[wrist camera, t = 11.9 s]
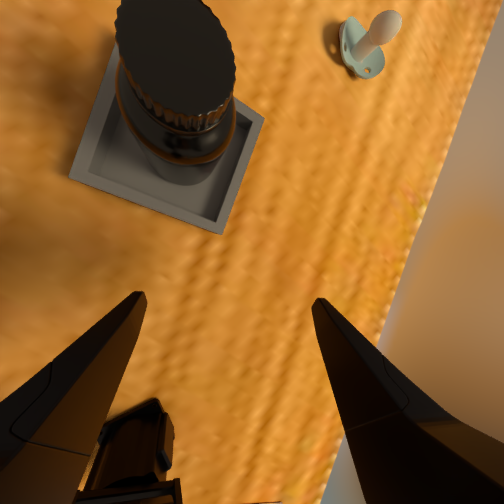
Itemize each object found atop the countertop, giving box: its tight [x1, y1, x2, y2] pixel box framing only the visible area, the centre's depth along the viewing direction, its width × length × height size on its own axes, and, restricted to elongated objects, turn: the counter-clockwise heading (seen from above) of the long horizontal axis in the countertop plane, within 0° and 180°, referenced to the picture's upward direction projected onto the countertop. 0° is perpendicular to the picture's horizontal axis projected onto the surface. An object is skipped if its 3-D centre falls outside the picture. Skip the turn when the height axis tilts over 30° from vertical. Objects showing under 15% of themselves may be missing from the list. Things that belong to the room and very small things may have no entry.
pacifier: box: [339, 10, 402, 79], centre depth 22 cm, size 7×6×6 cm
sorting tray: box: [68, 43, 265, 235], centre depth 18 cm, size 13×13×2 cm
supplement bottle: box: [114, 0, 236, 186], centre depth 13 cm, size 7×7×12 cm
